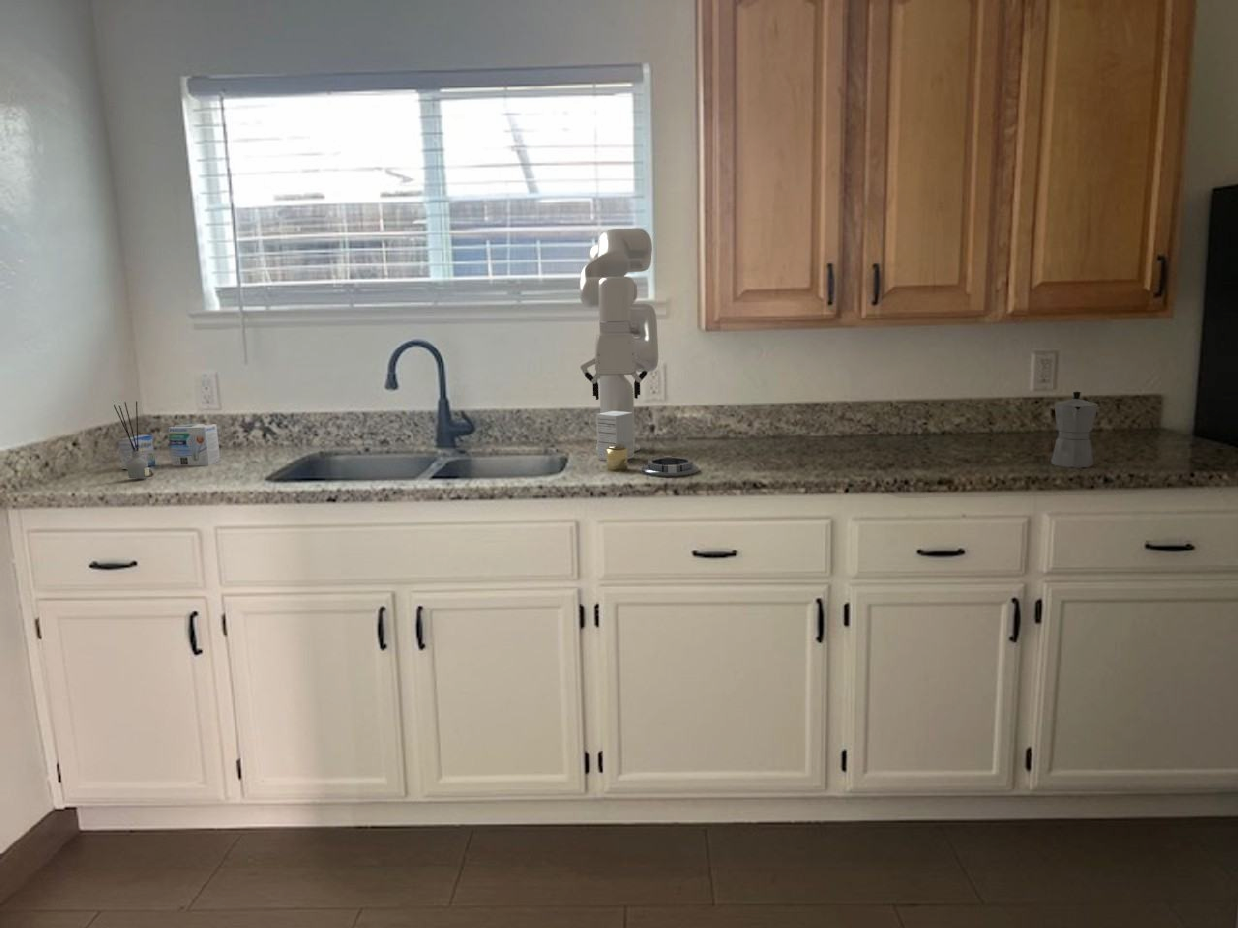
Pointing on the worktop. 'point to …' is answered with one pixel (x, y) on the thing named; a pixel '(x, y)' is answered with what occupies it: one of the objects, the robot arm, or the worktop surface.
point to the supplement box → (614, 432)
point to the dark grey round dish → (670, 467)
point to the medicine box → (143, 445)
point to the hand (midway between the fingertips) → (616, 398)
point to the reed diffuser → (135, 454)
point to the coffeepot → (1074, 432)
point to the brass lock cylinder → (617, 458)
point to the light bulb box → (194, 444)
